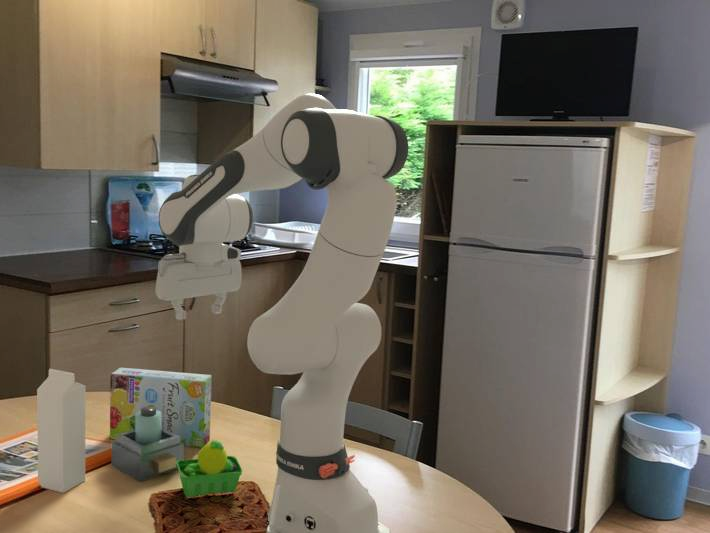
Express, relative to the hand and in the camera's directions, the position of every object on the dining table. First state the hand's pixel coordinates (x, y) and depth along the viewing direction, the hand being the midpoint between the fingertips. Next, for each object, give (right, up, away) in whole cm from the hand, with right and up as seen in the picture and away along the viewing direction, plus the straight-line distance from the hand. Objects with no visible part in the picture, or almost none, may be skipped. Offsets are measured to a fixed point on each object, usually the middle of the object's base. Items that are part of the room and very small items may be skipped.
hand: (199, 316), depth 157 cm
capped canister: (-8, -25, -9) cm, 28 cm away
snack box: (-10, -28, +6) cm, 30 cm away
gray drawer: (-9, -30, -8) cm, 32 cm away
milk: (-22, -31, -17) cm, 42 cm away
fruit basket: (+6, -32, -17) cm, 37 cm away
